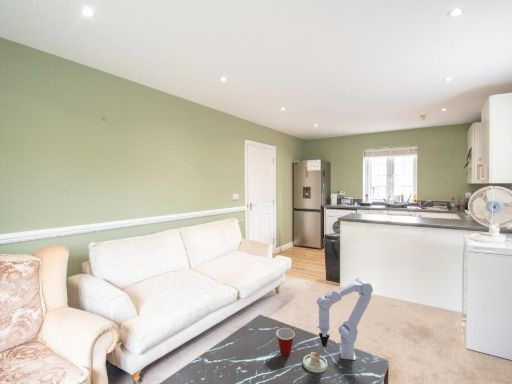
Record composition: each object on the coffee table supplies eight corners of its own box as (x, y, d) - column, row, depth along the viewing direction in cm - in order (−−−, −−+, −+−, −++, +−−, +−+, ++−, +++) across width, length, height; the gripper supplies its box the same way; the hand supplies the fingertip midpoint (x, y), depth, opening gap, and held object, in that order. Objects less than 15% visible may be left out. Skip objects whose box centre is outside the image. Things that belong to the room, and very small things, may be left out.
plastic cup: (277, 359, 154) (277, 338, 153) (275, 347, 164) (275, 328, 164) (296, 358, 154) (296, 337, 154) (293, 347, 165) (293, 327, 165)
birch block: (311, 359, 151) (311, 352, 151) (319, 361, 150) (319, 353, 150) (311, 365, 147) (311, 357, 147) (319, 366, 146) (319, 358, 146)
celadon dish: (303, 355, 156) (303, 352, 156) (327, 358, 153) (327, 355, 153) (302, 370, 144) (302, 367, 144) (327, 374, 141) (327, 370, 141)
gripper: (316, 311, 161) (317, 334, 161) (316, 324, 147) (316, 349, 147) (329, 313, 159) (329, 335, 159) (330, 325, 145) (330, 350, 145)
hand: (324, 342), depth 153 cm, fingers open, 7 cm apart
